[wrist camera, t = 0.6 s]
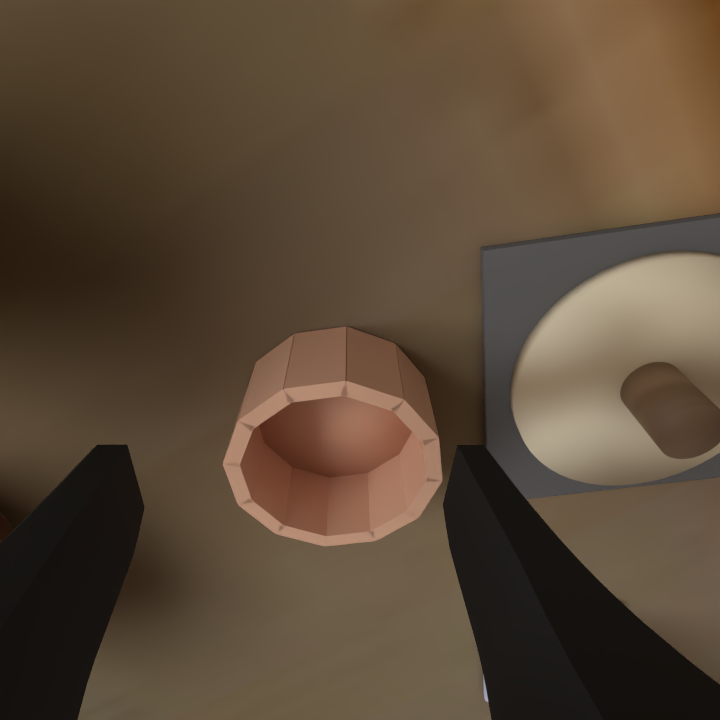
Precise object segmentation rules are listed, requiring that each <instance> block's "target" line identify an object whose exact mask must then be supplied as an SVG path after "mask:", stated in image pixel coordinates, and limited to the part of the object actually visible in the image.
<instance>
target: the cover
mask: <svg viewBox="0 0 720 720" xmlns="http://www.w3.org/2000/svg"><path fill="white" fill-rule="evenodd" d="M510 405H511V410H512V414H513V418H514V421H515V423H516V425H517V428H518V430H519V432H520V434H521V437H522V439H523V441H524V443H525V444H526V446H527V447H528V449H529V450H530V452H531V453H532V454H533V455H534V456H535V457H536V458H537V459H538V460H539V461H540V462H541V463H543V464H544V465H545V466H546V467H548V468H549V469H551V470H553V471H554V472H556V473H558V474H560V475H562V476H565V477H567V478H570V479H572V480H576V481H580V482H584V483H589V484H596V485H611V486H619V485H633V484H639V483H646V482H651V481H655V480H659V479H663V478H666V477H669V476H672V475H675V474H678V473H681V472H683V471H686V470H688V469H690V468H693V467H695V466H697V465H699V464H701V463H703V462H705V461H707V460H708V459H710V458H712V457H714V456H715V455H717V454H718V453H720V255H718V254H713V253H708V252H703V251H687V250H678V251H666V252H658V253H653V254H648V255H643V256H639V257H636V258H633V259H630V260H627V261H624V262H621V263H618V264H616V265H614V266H612V267H609V268H607V269H605V270H602V271H601V272H599V273H597V274H595V275H594V276H592V277H590V278H588V279H586V280H585V281H583V282H582V283H580V284H579V285H578V286H576V287H575V288H573V289H572V290H570V291H569V292H568V293H566V294H565V295H564V296H563V297H562V298H561V299H560V300H559V301H557V302H556V303H555V304H554V305H553V306H552V307H551V308H550V309H549V310H548V311H547V312H546V313H545V314H544V316H543V317H542V318H541V319H540V320H539V321H538V323H537V324H536V325H535V327H534V328H533V330H532V331H531V332H530V334H529V335H528V337H527V339H526V341H525V342H524V344H523V346H522V348H521V349H520V352H519V354H518V357H517V359H516V362H515V364H514V368H513V373H512V377H511V384H510Z"/></svg>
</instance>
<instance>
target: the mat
mask: <svg viewBox="0 0 720 720" xmlns="http://www.w3.org/2000/svg"><path fill="white" fill-rule="evenodd" d="M678 250H687V251H703V252H708V253H713V254H718V255H720V213H719V214H712V215H705V216H698V217H691V218H684V219H677V220H670V221H663V222H656V223H649V224H642V225H635V226H628V227H621V228H613V229H606V230H599V231H592V232H585V233H578V234H571V235H564V236H557V237H550V238H543V239H536V240H529V241H522V242H515V243H508V244H501V245H494V246H487V247H481V268H482V316H483V364H484V413H485V447H486V448H487V449H488V450H489V452H490V453H491V454H492V456H493V457H494V458H495V460H496V461H497V462H498V464H499V465H500V466H501V468H502V469H503V470H504V472H505V473H506V474H507V476H508V477H509V478H510V479H511V481H512V482H513V483H514V485H515V486H516V487H517V488H518V490H519V491H520V492H521V493H522V495H523V496H524V497H525V499H530V498H539V497H548V496H557V495H565V494H574V493H583V492H592V491H601V490H610V489H619V488H627V487H636V486H645V485H654V484H663V483H672V482H681V481H689V480H698V479H707V478H716V477H720V453H718V454H717V455H715V456H714V457H712V458H710V459H708V460H707V461H705V462H703V463H701V464H699V465H697V466H695V467H693V468H690V469H688V470H686V471H683V472H681V473H678V474H675V475H672V476H669V477H666V478H663V479H659V480H655V481H651V482H646V483H639V484H633V485H619V486H611V485H596V484H589V483H584V482H580V481H576V480H572V479H570V478H567V477H565V476H562V475H560V474H558V473H556V472H554V471H553V470H551V469H549V468H548V467H546V466H545V465H544V464H543V463H541V462H540V461H539V460H538V459H537V458H536V457H535V456H534V455H533V454H532V453H531V452H530V450H529V449H528V447H527V446H526V444H525V443H524V441H523V439H522V437H521V434H520V432H519V430H518V428H517V425H516V423H515V421H514V418H513V414H512V410H511V405H510V384H511V377H512V373H513V368H514V364H515V362H516V359H517V357H518V354H519V352H520V349H521V348H522V346H523V344H524V342H525V341H526V339H527V337H528V335H529V334H530V332H531V331H532V330H533V328H534V327H535V325H536V324H537V323H538V321H539V320H540V319H541V318H542V317H543V316H544V314H545V313H546V312H547V311H548V310H549V309H550V308H551V307H552V306H553V305H554V304H555V303H556V302H557V301H559V300H560V299H561V298H562V297H563V296H564V295H565V294H566V293H568V292H569V291H570V290H572V289H573V288H575V287H576V286H578V285H579V284H580V283H582V282H583V281H585V280H586V279H588V278H590V277H592V276H594V275H595V274H597V273H599V272H601V271H602V270H605V269H607V268H609V267H612V266H614V265H616V264H618V263H621V262H624V261H627V260H630V259H633V258H636V257H639V256H643V255H648V254H653V253H658V252H666V251H678Z"/></svg>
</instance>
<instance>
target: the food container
mask: <svg viewBox="0 0 720 720" xmlns="http://www.w3.org/2000/svg"><path fill="white" fill-rule="evenodd" d="M13 530H14V529H13V528H12V526H11V524H10V523H9V521H8V520H7V519H6V518H5V516H4V515H3V514H2V513H1V512H0V542H1V541H2V540H4V539H5V538H6V537H7V536H8V535H9V534H10V533H11V532H12V531H13Z"/></svg>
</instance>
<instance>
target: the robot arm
mask: <svg viewBox="0 0 720 720" xmlns="http://www.w3.org/2000/svg"><path fill="white" fill-rule="evenodd" d="M443 508H444V515H445V522H446V528H447V534H448V540H449V546H450V551H451V554H452V558H453V562H454V565H455V569H456V573H457V576H458V580H459V584H460V587H461V591H462V594H463V598H464V601H465V605H466V609H467V612H468V616H469V619H470V623H471V626H472V630H473V634H474V637H475V641H476V644H477V648H478V652H479V657H480V661H481V665H482V670H483V687H484V698H485V701H487V702H489V707H490V713H491V718H492V720H720V685H719V684H718V683H717V682H716V681H714V680H713V679H712V678H710V677H709V676H708V675H706V674H705V673H704V672H702V671H701V670H700V669H699V668H697V667H696V666H695V665H694V664H692V663H691V662H690V661H689V660H687V659H686V658H685V657H684V656H683V655H681V654H680V653H679V652H678V651H677V650H675V649H674V648H673V647H672V646H671V645H670V644H668V643H667V642H666V641H665V640H664V639H662V638H661V637H660V636H659V635H658V634H656V633H655V632H654V631H653V630H652V629H650V628H649V627H648V626H647V625H646V624H644V623H643V622H642V621H641V620H640V619H639V618H638V617H637V616H636V615H634V614H633V613H632V612H631V611H630V610H629V609H628V608H627V607H626V606H625V605H623V604H622V603H621V602H620V601H619V600H618V599H617V598H616V597H615V596H614V595H613V594H612V593H611V592H610V591H609V590H608V589H607V588H606V587H605V586H604V585H603V584H602V583H601V582H600V581H599V580H598V579H597V578H596V577H595V576H594V575H593V574H592V573H591V572H590V571H589V570H588V569H587V568H586V567H585V566H584V565H583V564H582V563H581V562H580V561H579V560H578V559H577V557H576V556H575V555H574V554H573V553H572V552H571V551H570V550H569V549H568V548H567V547H566V546H565V544H564V543H563V542H562V541H561V540H560V539H559V538H558V537H557V535H556V534H555V533H554V532H553V531H552V530H551V529H550V527H549V526H548V525H547V524H546V523H545V521H544V520H543V519H542V518H541V517H540V515H539V514H538V513H537V512H536V511H535V510H534V508H533V507H532V506H531V505H530V503H529V502H528V501H527V500H526V499H525V497H524V496H523V495H522V493H521V492H520V491H519V490H518V488H517V487H516V486H515V485H514V483H513V482H512V481H511V479H510V478H509V477H508V476H507V474H506V473H505V472H504V470H503V469H502V468H501V466H500V465H499V464H498V462H497V461H496V460H495V458H494V457H493V456H492V454H491V453H490V452H489V450H488V449H487V448H486V447H485V446H484V445H457V449H456V453H455V458H454V462H453V466H452V470H451V474H450V478H449V482H448V486H447V490H446V494H445V498H444V502H443ZM143 511H144V504H143V500H142V496H141V493H140V489H139V486H138V482H137V478H136V475H135V471H134V468H133V464H132V460H131V457H130V453H129V449H128V446H127V445H97V446H96V447H95V448H93V449H92V450H91V451H90V453H89V454H88V455H87V456H86V457H85V458H84V459H83V460H82V461H81V462H80V463H79V464H78V465H77V466H76V467H75V468H74V469H73V470H72V471H71V472H70V473H69V474H68V475H67V477H66V478H65V479H64V480H63V481H62V482H61V483H60V484H59V485H58V486H57V487H56V488H55V489H54V490H53V491H52V492H51V493H50V494H49V495H48V496H47V497H46V498H45V499H44V500H43V501H42V502H41V503H40V504H39V505H38V506H37V507H36V508H35V509H34V510H33V511H32V512H31V513H30V514H29V515H28V516H27V517H26V518H25V519H24V520H23V521H22V522H21V523H20V524H19V525H18V526H17V527H16V528H15V529H14V530H13V531H12V532H11V533H10V534H9V535H8V536H7V537H6V538H5V539H4V540H2V541H1V542H0V720H77V719H78V715H79V711H80V708H81V704H82V700H83V696H84V693H85V689H86V685H87V682H88V679H89V676H90V673H91V670H92V667H93V664H94V660H95V658H96V655H97V652H98V649H99V647H100V644H101V641H102V639H103V636H104V633H105V631H106V628H107V625H108V622H109V620H110V617H111V614H112V612H113V609H114V606H115V603H116V601H117V598H118V595H119V593H120V590H121V587H122V584H123V582H124V579H125V576H126V573H127V571H128V568H129V565H130V562H131V559H132V557H133V554H134V550H135V546H136V542H137V538H138V534H139V530H140V525H141V521H142V516H143Z"/></svg>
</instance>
